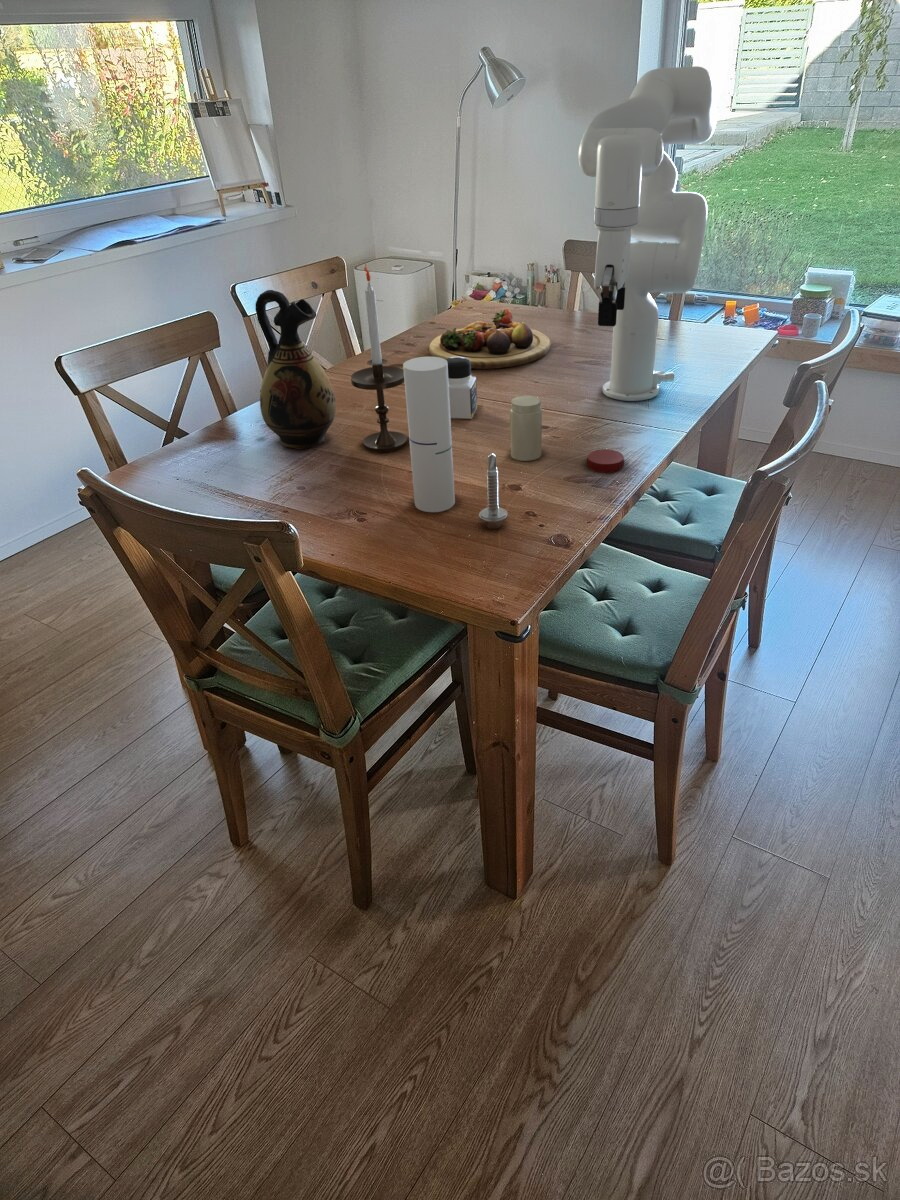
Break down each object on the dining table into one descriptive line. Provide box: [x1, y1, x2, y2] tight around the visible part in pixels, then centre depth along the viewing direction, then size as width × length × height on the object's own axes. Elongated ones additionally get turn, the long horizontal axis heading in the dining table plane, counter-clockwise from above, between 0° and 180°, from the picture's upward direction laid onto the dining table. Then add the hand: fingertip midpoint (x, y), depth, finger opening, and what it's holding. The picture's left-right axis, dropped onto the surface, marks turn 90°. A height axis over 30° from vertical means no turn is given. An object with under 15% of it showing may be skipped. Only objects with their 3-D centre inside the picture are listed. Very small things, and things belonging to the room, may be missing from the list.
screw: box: [478, 453, 509, 530], centre depth 134 cm, size 13×5×5 cm
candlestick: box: [350, 263, 408, 454], centre depth 159 cm, size 11×11×35 cm
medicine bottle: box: [446, 356, 478, 420], centre depth 177 cm, size 7×7×12 cm
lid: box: [586, 448, 625, 474], centre depth 154 cm, size 7×7×2 cm
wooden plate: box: [428, 308, 551, 370], centre depth 214 cm, size 32×32×8 cm
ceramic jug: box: [254, 289, 337, 450], centre depth 164 cm, size 17×15×30 cm
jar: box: [509, 395, 543, 462], centre depth 157 cm, size 6×6×11 cm
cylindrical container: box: [402, 356, 456, 513], centre depth 138 cm, size 7×7×25 cm
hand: (611, 317), depth 151 cm, fingers open, 9 cm apart
